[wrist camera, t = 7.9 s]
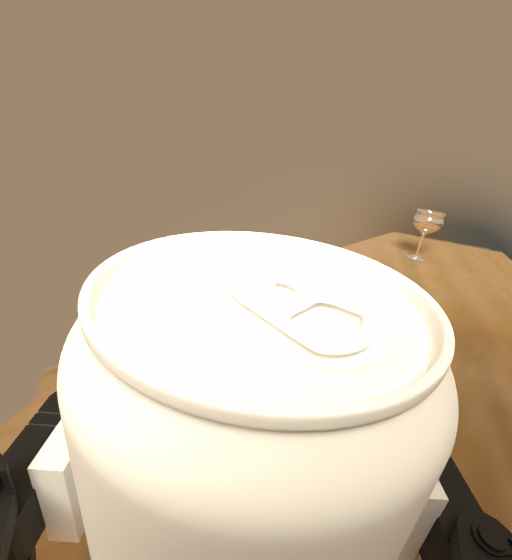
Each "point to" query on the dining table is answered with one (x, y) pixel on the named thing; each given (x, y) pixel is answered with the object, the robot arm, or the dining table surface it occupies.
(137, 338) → the beverage can
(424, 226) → the wineglass
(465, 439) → the dining table surface
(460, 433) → the dining table surface
